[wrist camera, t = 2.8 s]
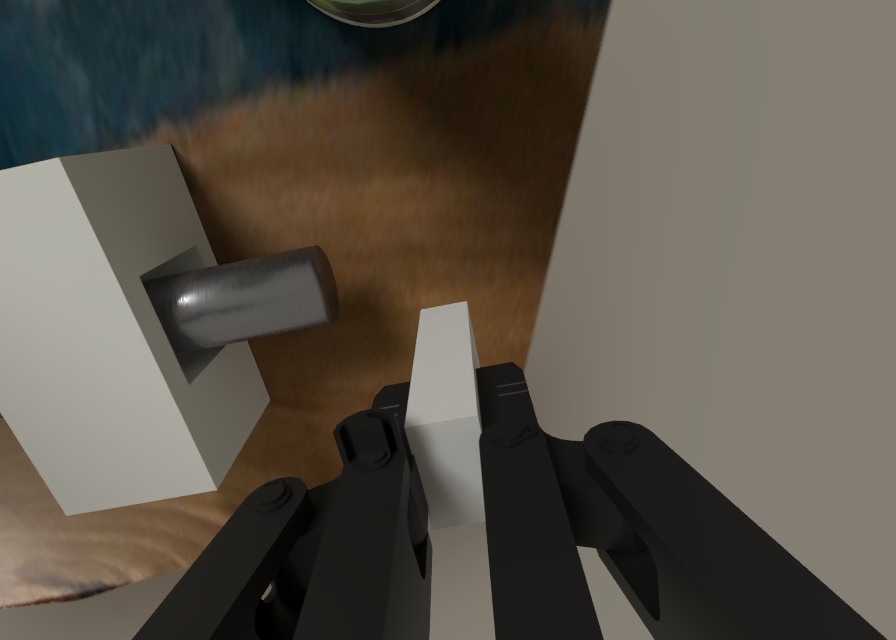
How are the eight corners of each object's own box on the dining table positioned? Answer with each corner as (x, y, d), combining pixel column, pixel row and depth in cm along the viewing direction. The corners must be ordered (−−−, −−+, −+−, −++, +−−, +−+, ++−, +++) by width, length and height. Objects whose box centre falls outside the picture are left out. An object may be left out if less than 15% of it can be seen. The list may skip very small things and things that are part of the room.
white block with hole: (154, 421, 33) (66, 516, 26) (29, 174, 27) (-135, 200, 19) (270, 399, 33) (217, 489, 25) (170, 143, 27) (58, 157, 19)
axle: (65, 361, 29) (8, 399, 25) (28, 296, 28) (-38, 325, 24) (343, 307, 28) (328, 338, 24) (322, 235, 26) (302, 256, 23)
